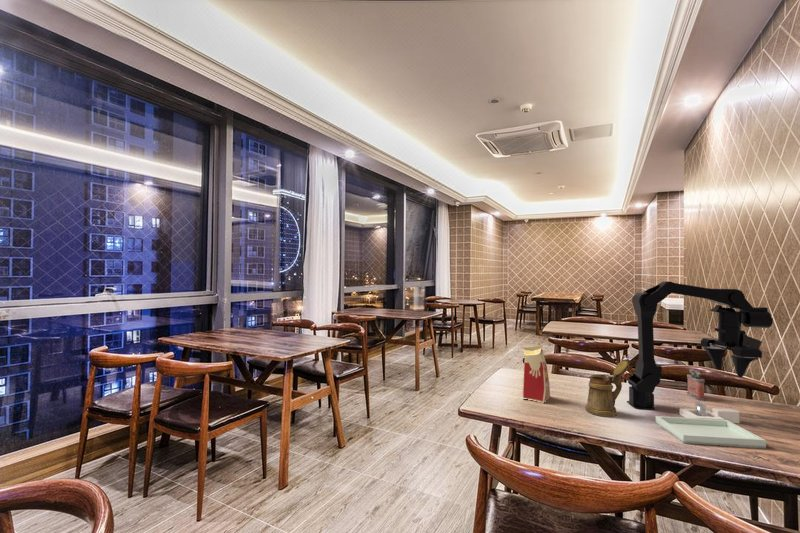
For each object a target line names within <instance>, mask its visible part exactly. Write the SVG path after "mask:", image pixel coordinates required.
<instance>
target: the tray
mask: <svg viewBox="0 0 800 533" xmlns="http://www.w3.org/2000/svg"><path fill="white" fill-rule="evenodd" d="M655 425H657V426H659V427H660V428H662V429H663V430H664V431H666V432H667V433H669V434H670V435H671V436H673V437H674V438H676V439H677V440H679V442H681V443H682V444H691V445H702V444H703V445H705V446H718V445H720V446H721V447H733V446H734V447H736V448H750V449H763V450H765V449H767V440H766V439H765V438H762V437H760V436H758V435H756V434H755V433H753V432H751V431H749V430H747V429H745V428H743V427H741V426H739V425H738V424H737V423H732V422H730V421H728V420H716V419H699V418H685V417H682V416H681V417H680V416H679V417H678V416H677V417H676V416H665V415H664V416H660V415H659V416H658V415H655ZM720 446H719V447H720Z"/></svg>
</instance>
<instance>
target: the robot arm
mask: <svg viewBox="0 0 800 533" xmlns="http://www.w3.org/2000/svg"><path fill="white" fill-rule="evenodd" d="M671 294H675V295H680V296H687V297H692V298H693V297H694V298H697V299H698V298H699V299H704V300H707V301H710V302H712V303H714V304H717V305H715V306H714V307H712V308H711V309H710V312H711V313H712V312H713V313H717V327H714V331H715V332H717V338H713V337H712V338H709V337H703V338H701V339H700V346H701V347H702V349H704V350H705V351H706V353H707V354H708V356H709V358H710V360H711V362H712V364H713V366H714V367H715V369H716V370H719V371H720V370H721V369H722V364H723V363H722V362H723V356H724V354H725V353H726V351H731V353H732V355H731V358H732V362H733V365H734V369H735V373H736V375H737V377H738V378H744V375H745V373H746V370H747V369H748V367H749V366H750V363H751V362H754V361H755V360H756V361H757V360H759V358H760V359H762V358H763V351H762V349H760V347H761V345H762V343H763V341H762V340H759V339H757V338H754V337H751V336H749V335H748V334H747V333H746V331H745V330H742V325H743V327H745V328H757V329H758V328H759V329H769V328H771V327H772V325H773V320H774V318H772V315H771V313H770V312H769V309H768V307H764V306H757V307H753V305H752V304H751V303H750V301H748V300H747V298H746V297H745V293H743V291H742V290H740V289H737V288H719V287H718V288H713V287H712V288H710V287H709V288H707V287H702V286H696V285H691V284H684V283H678V282H673V281H669V280H668V281H667V280H666V281H661V282H659V283H658V284H656V285H654V286H652V287H650V288H648V289H645V290H644V291H641V292H637V293H635V294H634V295H633V296H632V298H631V302H632V306H633V307H632V308H633V310H634V313H635V315H636V317H637V338H638V341H637V343H638V358H637V361H636V363H635V368H634V372H633V373H632V374H631V375H630V376H628V377H627V378H626V380H627V383H628V385H630V386H628V400H627V401H626V403H627V404H628V405H630V406H631V407H632V408H634V409H637V410H638V409H639V410H642V409H643V410H656V407H655V394H654V392H655V389H656V387H657V386H658V385H660V383H661V379H664V377H663V375H662V371H663V367H662V366H661V365H660V364H658V363H657V362H656V360H655V342H654V341H655V340H654V317H655V316H656V313H657V310H658V305H659V303H660V302H662V301H663V300H665V299H666V298H667V297H668V296H669V295H671ZM724 306H726V307H724Z"/></svg>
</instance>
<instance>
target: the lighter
mask: <svg viewBox="0 0 800 533" xmlns="http://www.w3.org/2000/svg"><path fill="white" fill-rule="evenodd" d="M688 372H689V374H688V373H687V374H686V376H687V377H686V378H687V391H686V394H687V395H688V396H689V397H690V398H692V399H695V400H696V401H700V402H701V401H702V402H704V401H705V400H706V397H705V379H704V378H703V377H702V373H700V371H699V370H696V369H693V368H689V370H688Z"/></svg>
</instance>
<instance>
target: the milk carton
mask: <svg viewBox="0 0 800 533" xmlns="http://www.w3.org/2000/svg"><path fill="white" fill-rule="evenodd" d="M521 348H522V349H523V353H524V363H523V366H524V367H523V383H522V384H523V386H522V394H521V396H522V395H523V398H526V399H532V400H536V401H540V402H543V403H544V402H545V401H546V400H547V399H548V398H549V397H550V398H551V389H550V388H551V387H550V378H549V371H548V365H547V361H546V358H545V354H544V350H543V344H539V345H533V346H522V347H521ZM523 398H522V399H523ZM550 398H549V399H550ZM549 399H548V400H549ZM548 400H547V401H548ZM547 401H546V402H547ZM546 402H545V403H546ZM543 403H542V404H543ZM545 403H544V404H545Z"/></svg>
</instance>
